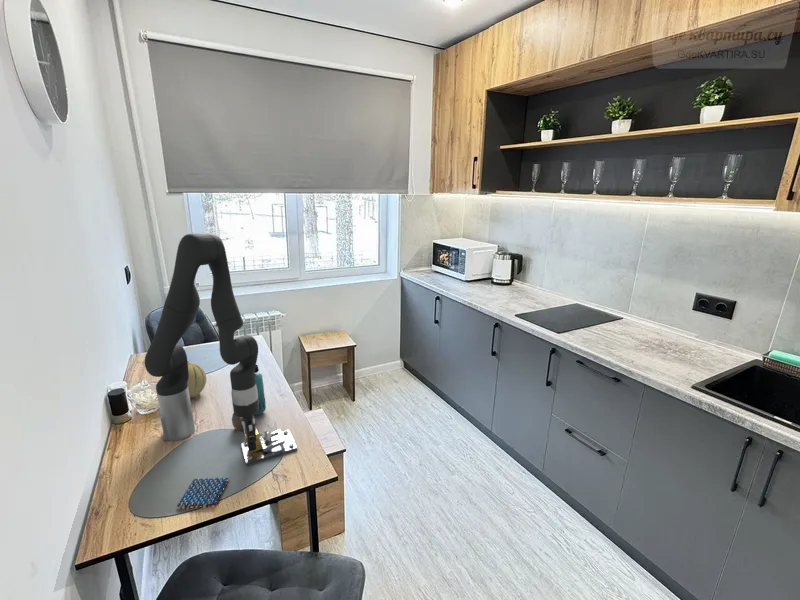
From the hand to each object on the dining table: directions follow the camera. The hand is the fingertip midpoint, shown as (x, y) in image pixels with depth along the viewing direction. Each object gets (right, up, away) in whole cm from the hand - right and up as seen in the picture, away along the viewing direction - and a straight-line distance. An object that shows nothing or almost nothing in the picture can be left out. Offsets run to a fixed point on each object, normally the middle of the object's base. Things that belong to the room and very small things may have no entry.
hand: (250, 442), depth 124 cm
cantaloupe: (-39, +6, +34) cm, 52 cm away
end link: (+4, -2, +3) cm, 5 cm away
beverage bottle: (-6, +2, +23) cm, 24 cm away
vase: (-8, 0, +14) cm, 17 cm away
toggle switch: (+5, -3, +4) cm, 7 cm away
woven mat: (-7, -10, -15) cm, 19 cm away
